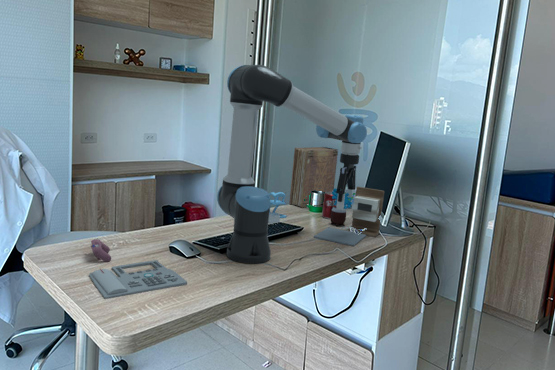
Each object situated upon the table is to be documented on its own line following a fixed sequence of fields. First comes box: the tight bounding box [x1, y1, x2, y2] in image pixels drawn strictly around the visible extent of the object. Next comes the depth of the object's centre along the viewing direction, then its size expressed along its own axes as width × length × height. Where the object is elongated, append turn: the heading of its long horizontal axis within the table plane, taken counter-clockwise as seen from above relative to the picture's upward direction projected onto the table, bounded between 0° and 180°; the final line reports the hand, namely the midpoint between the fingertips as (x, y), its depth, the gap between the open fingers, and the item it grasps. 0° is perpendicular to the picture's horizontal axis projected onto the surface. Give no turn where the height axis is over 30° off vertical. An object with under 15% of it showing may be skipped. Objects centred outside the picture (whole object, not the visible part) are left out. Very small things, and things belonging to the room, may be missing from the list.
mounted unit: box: [347, 186, 385, 238], centre depth 205 cm, size 8×12×19 cm, turn 64°
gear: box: [332, 187, 353, 210], centre depth 196 cm, size 11×6×10 cm
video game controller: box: [90, 238, 112, 262], centre depth 150 cm, size 10×5×7 cm, turn 23°
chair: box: [268, 191, 287, 219], centre depth 221 cm, size 8×8×12 cm
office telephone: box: [89, 259, 188, 300], centre depth 137 cm, size 23×3×20 cm
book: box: [288, 146, 339, 209], centre depth 252 cm, size 25×9×30 cm, turn 136°
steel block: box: [268, 211, 281, 225], centre depth 210 cm, size 5×5×4 cm
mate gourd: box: [330, 191, 347, 228], centre depth 215 cm, size 8×8×15 cm
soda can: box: [321, 192, 337, 220], centre depth 227 cm, size 7×7×12 cm
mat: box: [313, 226, 367, 247], centre depth 197 cm, size 18×17×1 cm
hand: (344, 207), depth 195 cm, fingers closed on gear, 10 cm apart
